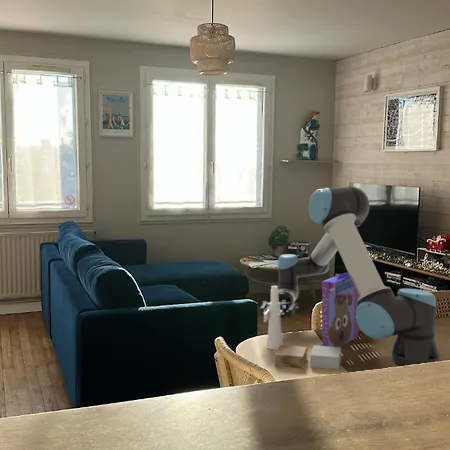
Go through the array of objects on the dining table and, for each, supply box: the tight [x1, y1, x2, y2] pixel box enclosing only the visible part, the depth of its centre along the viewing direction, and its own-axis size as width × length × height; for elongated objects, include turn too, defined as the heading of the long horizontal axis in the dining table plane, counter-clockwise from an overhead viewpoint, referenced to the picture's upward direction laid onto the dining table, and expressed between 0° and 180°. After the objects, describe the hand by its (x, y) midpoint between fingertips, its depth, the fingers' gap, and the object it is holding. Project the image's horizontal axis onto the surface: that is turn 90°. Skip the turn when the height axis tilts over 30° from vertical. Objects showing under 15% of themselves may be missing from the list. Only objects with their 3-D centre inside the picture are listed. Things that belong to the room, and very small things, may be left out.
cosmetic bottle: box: [266, 285, 284, 351], centre depth 198 cm, size 6×6×22 cm
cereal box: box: [321, 271, 359, 348], centre depth 201 cm, size 17×5×24 cm, turn 139°
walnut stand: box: [274, 344, 308, 370], centre depth 184 cm, size 9×9×4 cm
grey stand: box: [309, 345, 342, 370], centre depth 183 cm, size 9×9×4 cm
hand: (271, 318), depth 192 cm, fingers closed on cosmetic bottle, 4 cm apart
